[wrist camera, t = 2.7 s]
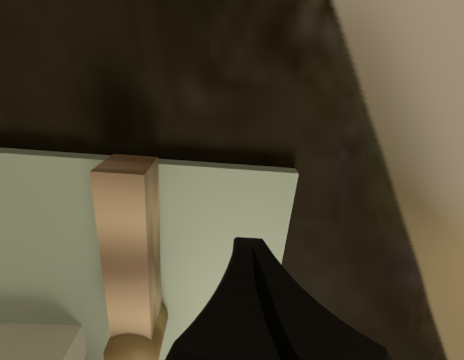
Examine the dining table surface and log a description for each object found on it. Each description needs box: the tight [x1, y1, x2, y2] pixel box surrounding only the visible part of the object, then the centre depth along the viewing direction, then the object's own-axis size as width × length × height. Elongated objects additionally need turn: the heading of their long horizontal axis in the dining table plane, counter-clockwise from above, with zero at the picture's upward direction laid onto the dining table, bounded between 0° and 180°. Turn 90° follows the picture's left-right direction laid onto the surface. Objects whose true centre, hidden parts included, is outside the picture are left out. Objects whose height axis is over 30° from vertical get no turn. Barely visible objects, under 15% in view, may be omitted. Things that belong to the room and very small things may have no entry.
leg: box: [89, 154, 168, 360], centre depth 17 cm, size 15×4×3 cm, turn 175°
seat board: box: [0, 148, 299, 360], centre depth 20 cm, size 19×24×1 cm
